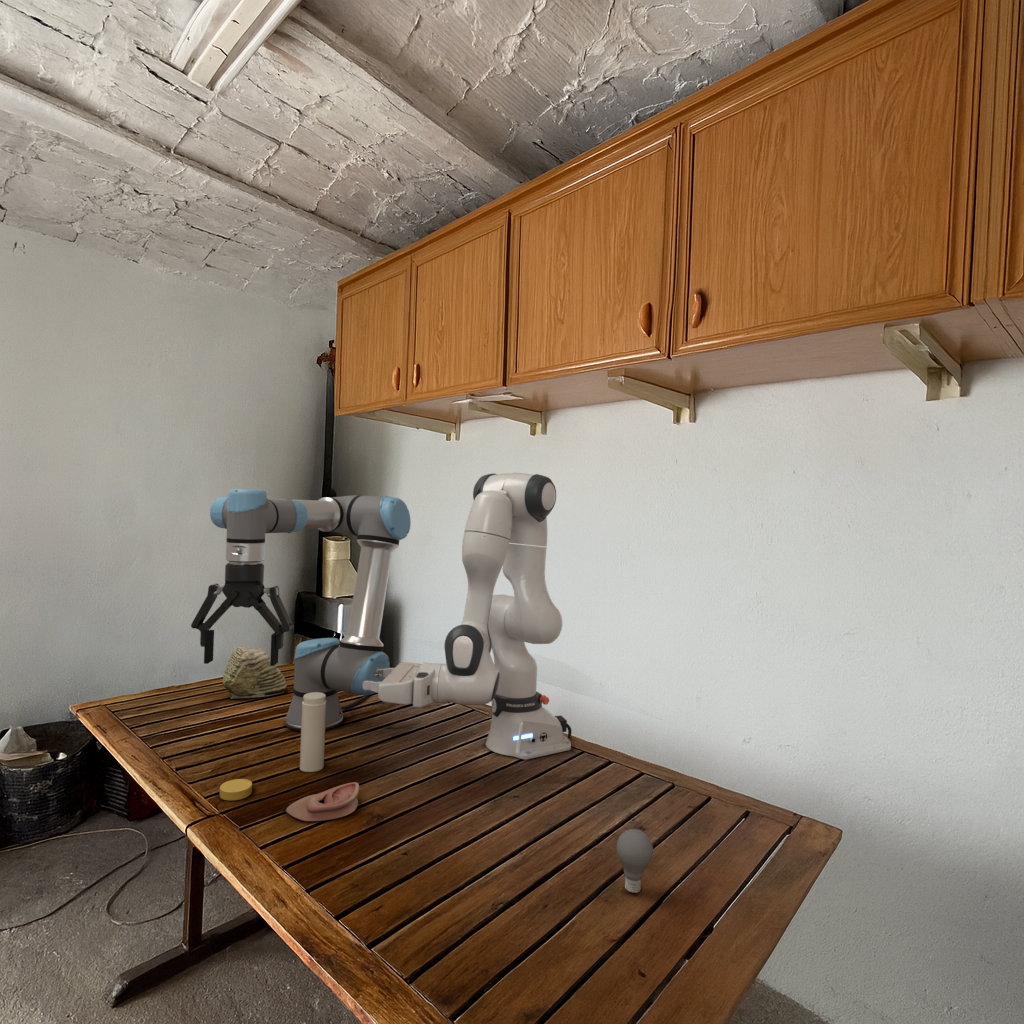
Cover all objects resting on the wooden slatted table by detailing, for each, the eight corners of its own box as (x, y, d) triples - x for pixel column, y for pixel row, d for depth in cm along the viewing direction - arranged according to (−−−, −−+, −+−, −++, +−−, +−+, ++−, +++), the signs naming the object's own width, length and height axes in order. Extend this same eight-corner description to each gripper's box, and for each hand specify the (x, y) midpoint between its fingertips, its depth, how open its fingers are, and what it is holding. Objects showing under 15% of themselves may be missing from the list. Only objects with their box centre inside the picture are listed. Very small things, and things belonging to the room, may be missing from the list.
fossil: (218, 695, 195) (220, 647, 195) (278, 685, 208) (279, 640, 207) (228, 703, 189) (230, 653, 188) (289, 692, 201) (290, 645, 201)
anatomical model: (278, 797, 124) (308, 772, 135) (277, 817, 124) (307, 791, 136) (340, 806, 122) (366, 781, 133) (339, 827, 122) (365, 799, 133)
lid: (252, 798, 132) (252, 789, 132) (219, 802, 129) (219, 794, 129) (251, 785, 138) (251, 777, 138) (219, 789, 135) (219, 781, 135)
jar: (301, 773, 144) (303, 699, 144) (298, 764, 149) (300, 692, 149) (325, 770, 147) (328, 697, 146) (321, 760, 152) (324, 690, 151)
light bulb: (610, 879, 108) (613, 822, 108) (644, 879, 109) (647, 822, 109) (619, 902, 102) (622, 840, 102) (655, 901, 103) (658, 840, 103)
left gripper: (175, 561, 129) (172, 665, 129) (299, 566, 130) (296, 669, 130) (192, 558, 136) (189, 656, 136) (310, 563, 137) (306, 660, 138)
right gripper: (437, 657, 156) (382, 654, 157) (419, 681, 136) (356, 677, 137) (436, 683, 156) (381, 679, 157) (418, 710, 136) (355, 706, 137)
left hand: (241, 663), depth 133 cm, fingers open, 13 cm apart
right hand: (369, 678), depth 147 cm, fingers open, 8 cm apart
